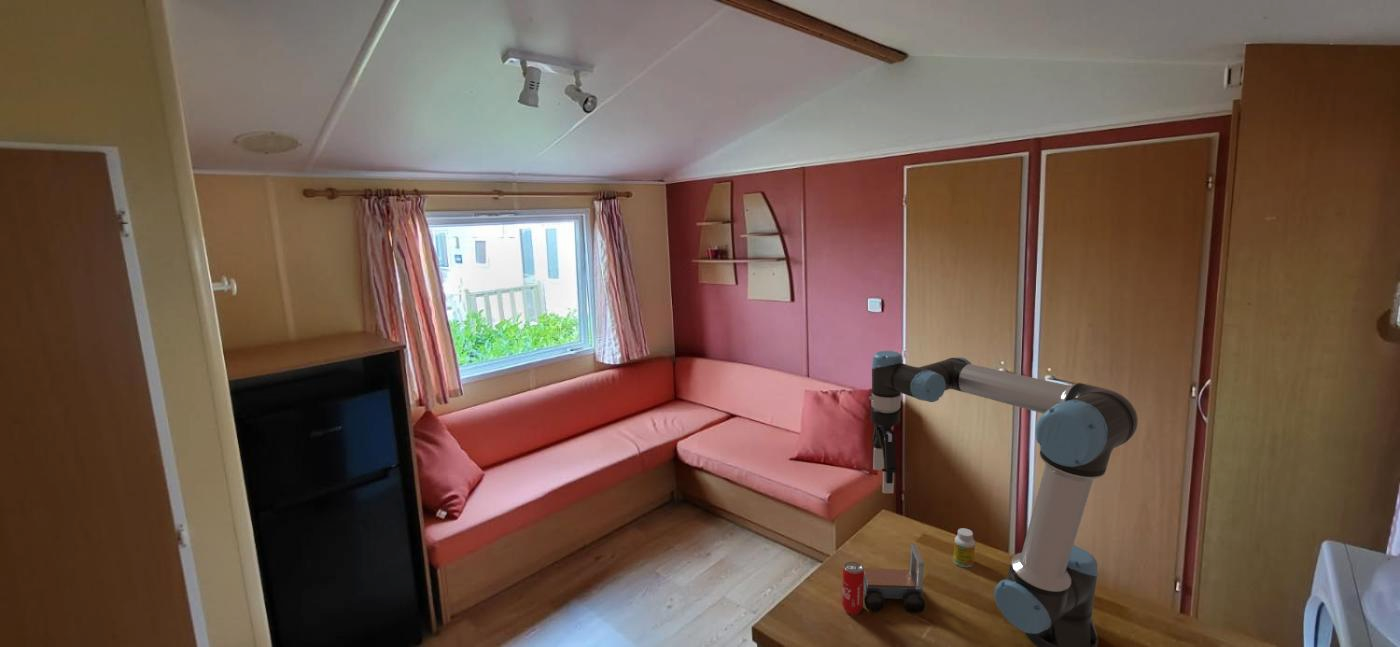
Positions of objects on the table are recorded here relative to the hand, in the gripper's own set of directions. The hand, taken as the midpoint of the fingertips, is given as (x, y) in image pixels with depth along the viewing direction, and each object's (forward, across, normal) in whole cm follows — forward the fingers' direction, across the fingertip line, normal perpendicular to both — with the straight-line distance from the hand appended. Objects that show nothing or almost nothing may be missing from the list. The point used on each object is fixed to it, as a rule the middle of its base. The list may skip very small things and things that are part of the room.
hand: (882, 480), depth 168 cm
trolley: (+27, +14, 0) cm, 30 cm away
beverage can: (+27, +18, -10) cm, 34 cm away
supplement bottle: (+27, -3, +24) cm, 36 cm away
